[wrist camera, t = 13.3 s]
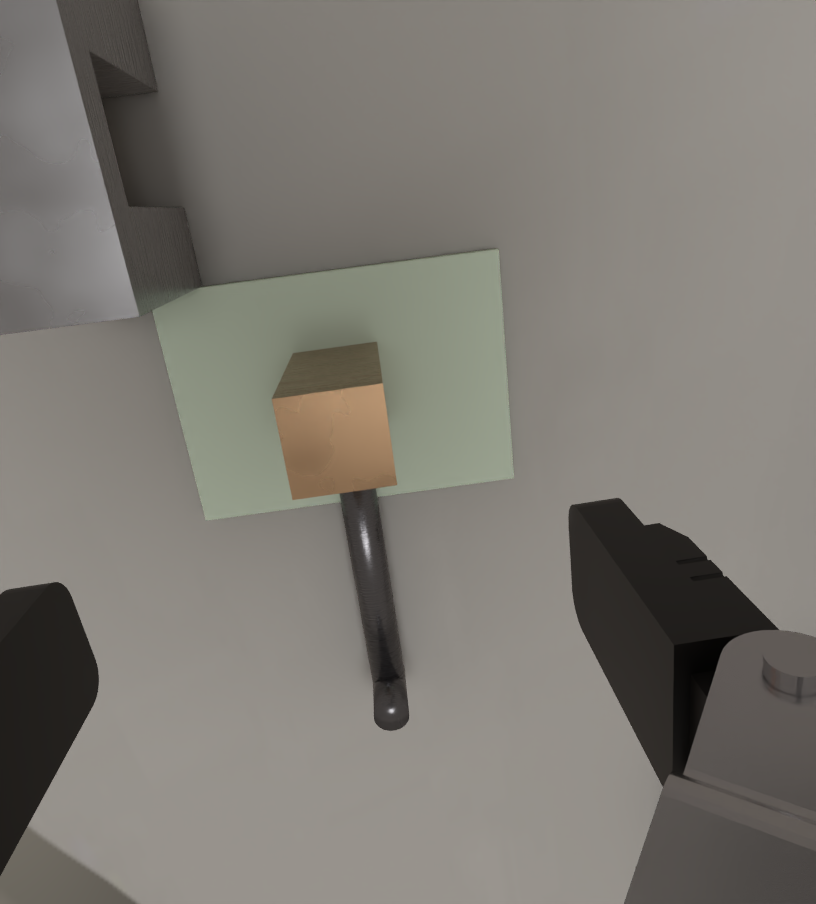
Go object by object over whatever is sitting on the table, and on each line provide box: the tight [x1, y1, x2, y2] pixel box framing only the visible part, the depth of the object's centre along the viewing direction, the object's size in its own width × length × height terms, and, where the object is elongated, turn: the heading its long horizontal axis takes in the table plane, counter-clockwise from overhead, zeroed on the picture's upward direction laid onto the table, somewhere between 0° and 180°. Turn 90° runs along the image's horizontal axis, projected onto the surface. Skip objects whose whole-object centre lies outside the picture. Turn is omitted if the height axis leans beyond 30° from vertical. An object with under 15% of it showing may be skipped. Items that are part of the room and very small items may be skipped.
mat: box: [152, 248, 514, 521], centre depth 28 cm, size 14×10×1 cm
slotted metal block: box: [0, 0, 202, 335], centre depth 21 cm, size 4×10×8 cm, turn 7°
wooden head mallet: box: [272, 342, 409, 731], centre depth 27 cm, size 17×4×7 cm, turn 7°
